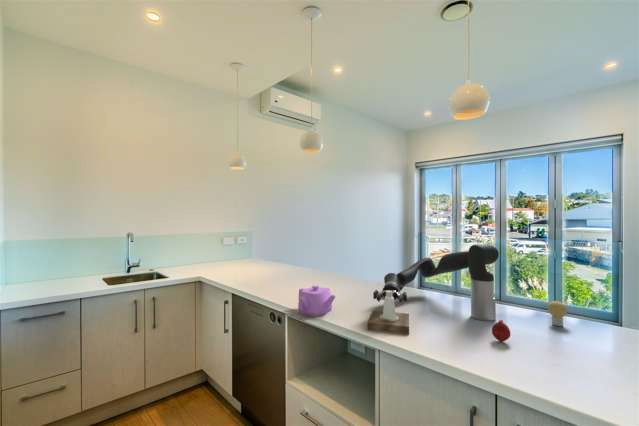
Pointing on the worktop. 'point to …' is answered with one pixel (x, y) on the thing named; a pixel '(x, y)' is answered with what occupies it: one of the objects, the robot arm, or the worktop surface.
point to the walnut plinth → (389, 323)
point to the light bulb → (557, 312)
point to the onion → (501, 331)
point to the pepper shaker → (389, 306)
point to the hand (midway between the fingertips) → (389, 300)
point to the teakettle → (315, 301)
